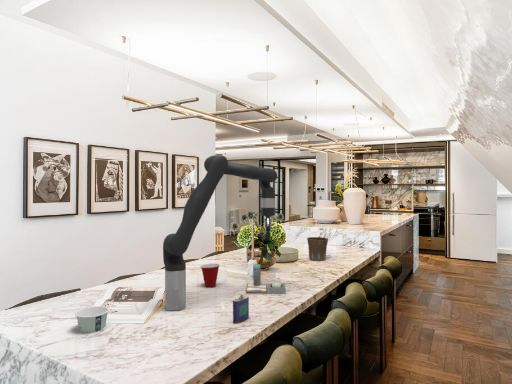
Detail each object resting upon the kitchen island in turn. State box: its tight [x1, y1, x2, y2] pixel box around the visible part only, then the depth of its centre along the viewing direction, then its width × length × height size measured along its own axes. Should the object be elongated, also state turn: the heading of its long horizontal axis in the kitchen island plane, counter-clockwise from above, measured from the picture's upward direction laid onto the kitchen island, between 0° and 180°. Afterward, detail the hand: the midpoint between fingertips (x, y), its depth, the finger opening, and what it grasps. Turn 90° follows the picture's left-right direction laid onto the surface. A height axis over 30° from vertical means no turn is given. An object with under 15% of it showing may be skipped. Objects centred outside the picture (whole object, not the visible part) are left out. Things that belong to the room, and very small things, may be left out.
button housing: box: [267, 282, 287, 295], centre depth 189 cm, size 9×9×3 cm
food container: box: [74, 305, 110, 333], centre depth 140 cm, size 12×12×6 cm
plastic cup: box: [199, 263, 221, 289], centre depth 200 cm, size 11×11×12 cm
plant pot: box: [306, 236, 329, 262], centre depth 275 cm, size 16×16×16 cm
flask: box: [232, 293, 250, 325], centre depth 148 cm, size 9×3×11 cm, turn 144°
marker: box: [252, 263, 262, 286], centre depth 199 cm, size 4×4×11 cm
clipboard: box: [245, 283, 268, 295], centre depth 194 cm, size 16×11×1 cm
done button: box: [271, 281, 282, 287], centre depth 189 cm, size 5×5×4 cm
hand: (267, 239), depth 192 cm, fingers closed
